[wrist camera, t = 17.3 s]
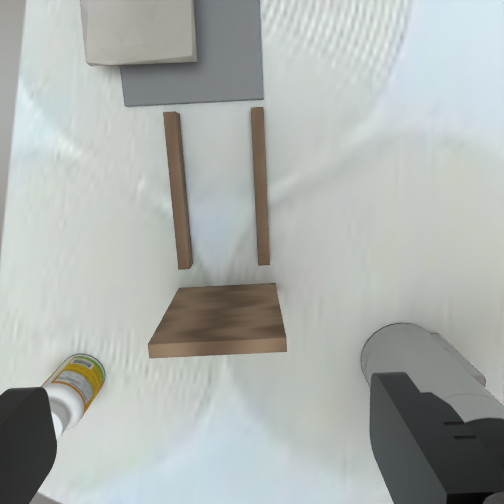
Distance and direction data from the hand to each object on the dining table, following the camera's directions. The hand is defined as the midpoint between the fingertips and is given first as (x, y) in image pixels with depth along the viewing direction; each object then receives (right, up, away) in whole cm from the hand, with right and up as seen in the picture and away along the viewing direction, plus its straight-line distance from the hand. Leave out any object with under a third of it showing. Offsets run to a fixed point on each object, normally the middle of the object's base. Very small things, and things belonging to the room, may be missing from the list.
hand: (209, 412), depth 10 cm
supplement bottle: (-19, -11, +38) cm, 44 cm away
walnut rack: (-2, +9, +33) cm, 34 cm away
